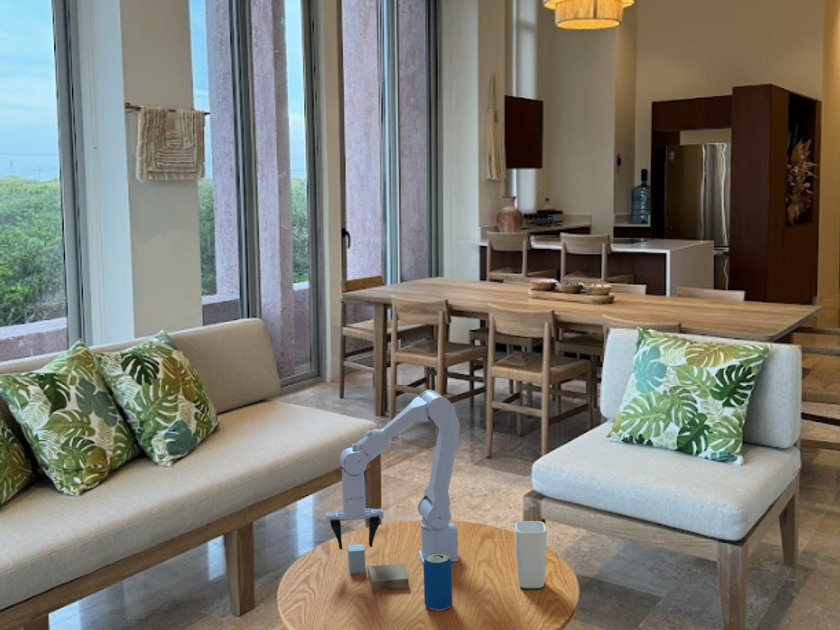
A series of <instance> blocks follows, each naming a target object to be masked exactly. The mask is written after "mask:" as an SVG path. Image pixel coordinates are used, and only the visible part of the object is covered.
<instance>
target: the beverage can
mask: <svg viewBox="0 0 840 630" xmlns="http://www.w3.org/2000/svg"><path fill="white" fill-rule="evenodd" d="M422 565H423V593H424V595H423V596H424V600H423V601H424V606H426V607H427V608H428V609H429V610H431V611H437V612H439V611H440V612H441V611H445V610H447V609H448V608H450V607H451V606H452V605H453V582H452V581H453V580H452V578H453V573H452V562H451V560H450V559H449V555H448V554H446V553H442V552H433V553H429V554H427V555H426V556H425V560H424V562H423V563H422Z"/></svg>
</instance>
